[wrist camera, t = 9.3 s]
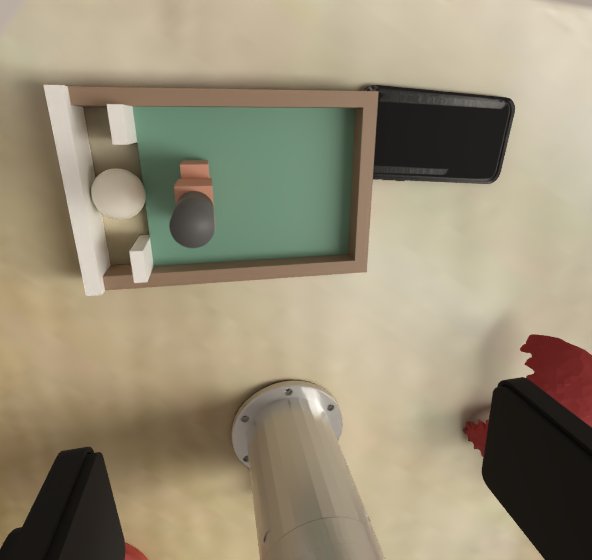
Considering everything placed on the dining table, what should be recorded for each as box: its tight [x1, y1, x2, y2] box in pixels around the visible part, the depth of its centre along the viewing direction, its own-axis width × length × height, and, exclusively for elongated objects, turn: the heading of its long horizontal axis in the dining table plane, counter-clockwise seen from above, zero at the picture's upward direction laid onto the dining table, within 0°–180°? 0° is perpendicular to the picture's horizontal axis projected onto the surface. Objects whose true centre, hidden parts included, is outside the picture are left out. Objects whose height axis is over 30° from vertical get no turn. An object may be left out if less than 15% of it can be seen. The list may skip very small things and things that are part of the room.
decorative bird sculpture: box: [463, 334, 592, 457], centre depth 49 cm, size 28×9×15 cm
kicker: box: [169, 160, 215, 248], centre depth 28 cm, size 5×2×13 cm, turn 0°
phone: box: [363, 85, 515, 184], centre depth 38 cm, size 8×1×15 cm
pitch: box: [43, 85, 379, 296], centre depth 33 cm, size 15×24×5 cm, turn 90°
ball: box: [91, 169, 146, 220], centre depth 32 cm, size 4×4×4 cm
